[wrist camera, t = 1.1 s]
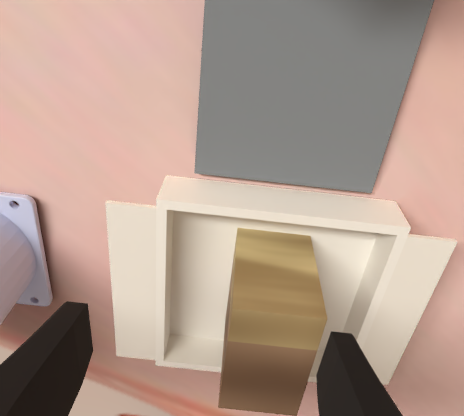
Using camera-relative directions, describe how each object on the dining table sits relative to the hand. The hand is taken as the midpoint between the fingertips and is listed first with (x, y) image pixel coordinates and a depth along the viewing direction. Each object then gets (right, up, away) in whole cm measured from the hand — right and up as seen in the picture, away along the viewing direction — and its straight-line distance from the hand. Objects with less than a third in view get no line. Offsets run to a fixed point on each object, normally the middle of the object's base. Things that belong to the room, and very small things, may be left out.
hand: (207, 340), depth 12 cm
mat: (+4, +9, +6) cm, 12 cm away
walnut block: (+3, 0, +12) cm, 12 cm away
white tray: (+3, 0, +12) cm, 12 cm away
